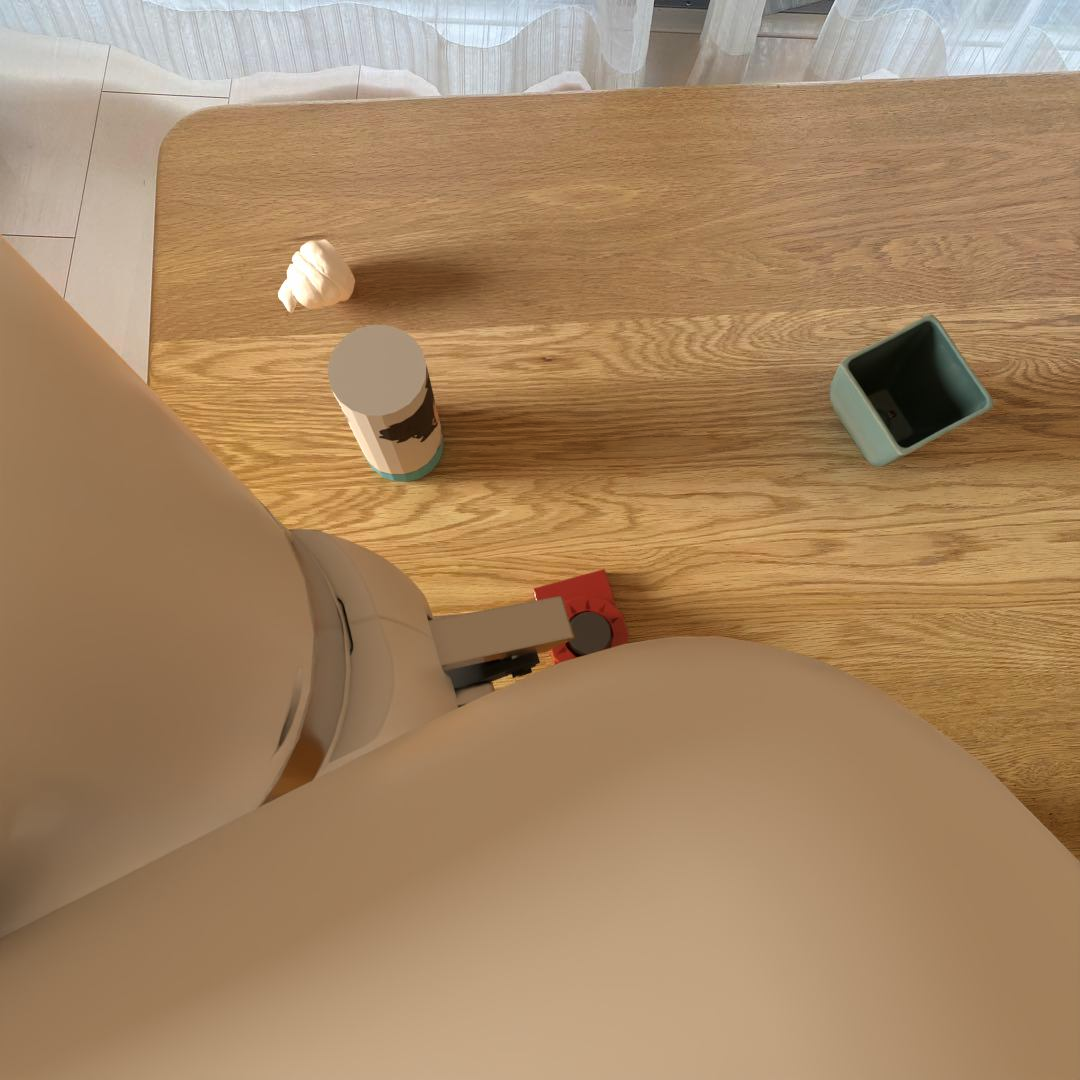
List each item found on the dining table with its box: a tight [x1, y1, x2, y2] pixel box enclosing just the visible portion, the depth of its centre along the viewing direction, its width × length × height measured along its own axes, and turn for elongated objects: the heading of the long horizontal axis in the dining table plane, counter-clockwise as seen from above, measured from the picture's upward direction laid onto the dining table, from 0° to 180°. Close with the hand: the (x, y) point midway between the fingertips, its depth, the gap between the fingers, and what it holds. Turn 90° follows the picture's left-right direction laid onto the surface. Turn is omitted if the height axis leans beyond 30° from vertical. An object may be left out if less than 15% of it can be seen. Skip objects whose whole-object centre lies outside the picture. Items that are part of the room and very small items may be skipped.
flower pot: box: [828, 313, 995, 468], centre depth 75 cm, size 9×9×9 cm
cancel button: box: [569, 612, 611, 656], centre depth 71 cm, size 3×3×2 cm
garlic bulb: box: [277, 239, 356, 314], centre depth 79 cm, size 6×6×5 cm
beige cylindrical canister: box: [327, 324, 445, 483], centre depth 71 cm, size 7×7×15 cm
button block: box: [532, 568, 630, 666], centre depth 73 cm, size 10×6×3 cm, turn 16°
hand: (320, 717), depth 33 cm, fingers open, 9 cm apart
